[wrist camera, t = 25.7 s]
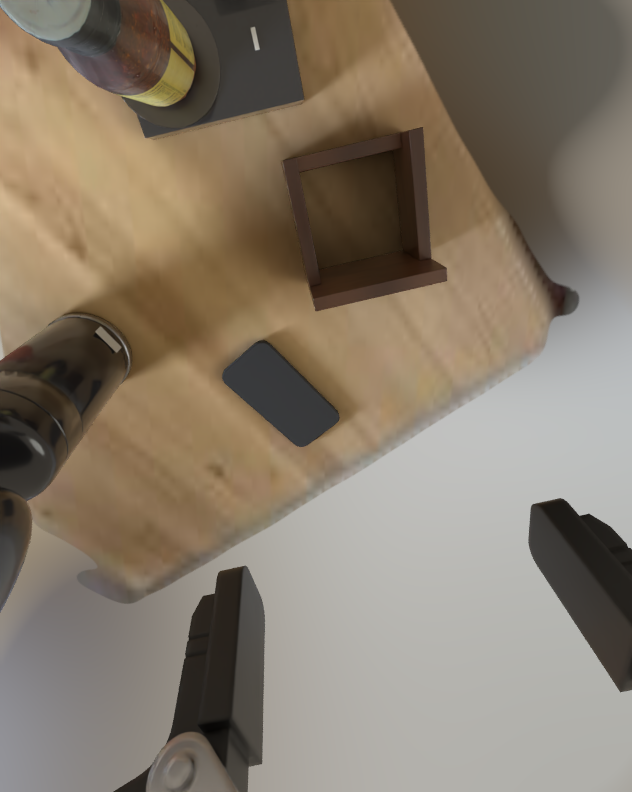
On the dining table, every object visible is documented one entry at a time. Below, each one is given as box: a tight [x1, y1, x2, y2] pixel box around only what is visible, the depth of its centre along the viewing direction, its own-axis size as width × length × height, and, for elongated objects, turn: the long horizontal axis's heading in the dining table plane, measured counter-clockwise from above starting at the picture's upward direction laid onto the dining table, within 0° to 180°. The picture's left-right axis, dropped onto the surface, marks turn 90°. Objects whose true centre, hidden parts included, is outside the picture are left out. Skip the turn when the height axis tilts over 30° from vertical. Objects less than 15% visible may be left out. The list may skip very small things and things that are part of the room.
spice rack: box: [281, 127, 447, 311], centre depth 38 cm, size 12×12×10 cm
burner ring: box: [121, 0, 220, 128], centre depth 33 cm, size 9×9×1 cm
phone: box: [222, 340, 339, 447], centre depth 52 cm, size 7×1×15 cm
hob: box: [137, 0, 304, 140], centre depth 33 cm, size 16×13×3 cm
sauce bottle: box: [0, 0, 196, 106], centre depth 24 cm, size 6×6×20 cm
